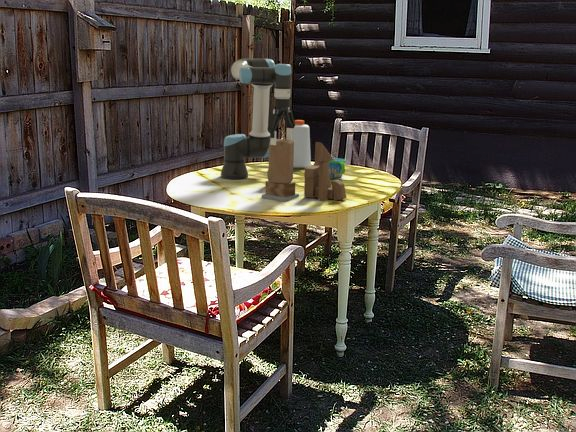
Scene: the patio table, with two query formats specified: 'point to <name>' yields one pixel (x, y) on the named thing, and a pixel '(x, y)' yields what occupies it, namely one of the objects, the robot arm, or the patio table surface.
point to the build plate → (279, 197)
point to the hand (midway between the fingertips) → (281, 143)
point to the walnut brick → (280, 189)
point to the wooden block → (281, 161)
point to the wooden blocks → (322, 178)
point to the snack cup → (337, 167)
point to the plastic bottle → (301, 145)
